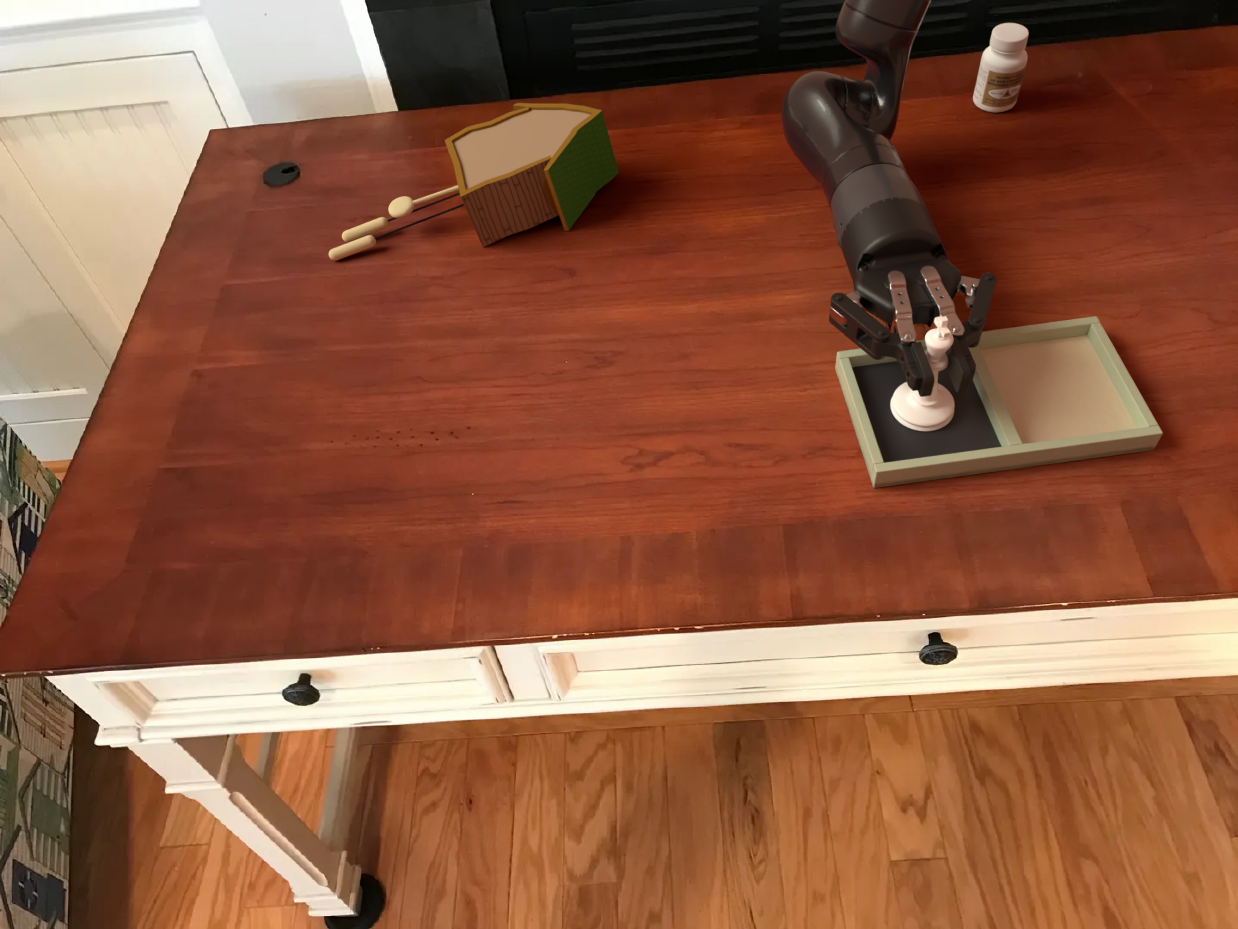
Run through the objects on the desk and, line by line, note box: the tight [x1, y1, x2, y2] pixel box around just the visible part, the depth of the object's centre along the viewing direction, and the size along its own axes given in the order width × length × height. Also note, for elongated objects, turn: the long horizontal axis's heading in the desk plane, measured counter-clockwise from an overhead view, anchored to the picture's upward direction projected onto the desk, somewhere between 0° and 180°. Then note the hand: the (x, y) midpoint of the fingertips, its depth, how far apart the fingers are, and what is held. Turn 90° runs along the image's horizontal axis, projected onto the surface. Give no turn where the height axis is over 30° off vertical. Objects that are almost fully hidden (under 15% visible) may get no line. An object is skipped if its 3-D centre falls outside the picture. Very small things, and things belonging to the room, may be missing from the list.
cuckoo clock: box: [328, 102, 620, 262], centre depth 97 cm, size 12×8×30 cm
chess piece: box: [890, 316, 955, 431], centre depth 74 cm, size 5×5×10 cm
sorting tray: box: [834, 315, 1164, 489], centre depth 78 cm, size 22×13×2 cm, turn 95°
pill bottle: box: [972, 22, 1030, 113], centre depth 100 cm, size 4×4×8 cm
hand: (946, 386), depth 72 cm, fingers closed on chess piece
